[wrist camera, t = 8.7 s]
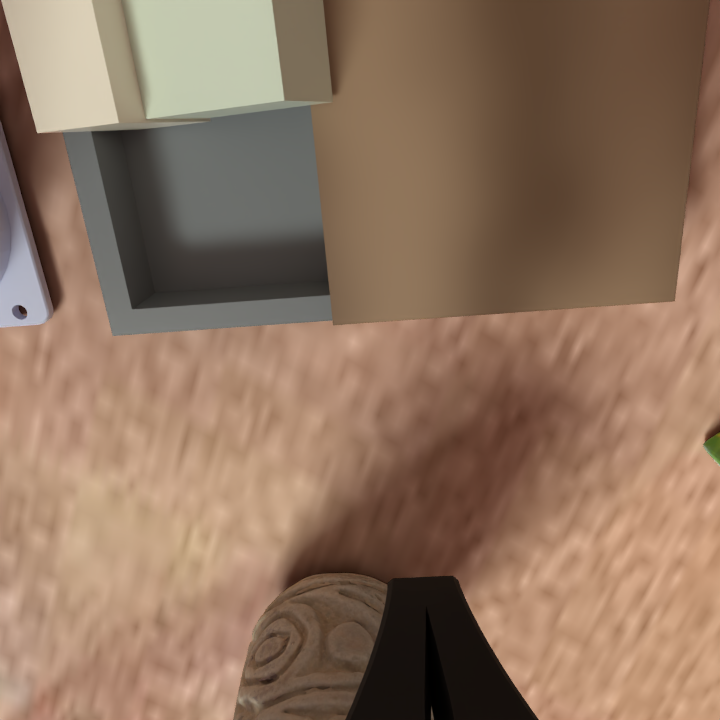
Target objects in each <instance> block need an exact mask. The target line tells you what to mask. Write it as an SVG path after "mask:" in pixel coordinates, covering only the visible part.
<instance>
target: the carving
mask: <svg viewBox="0 0 720 720" xmlns="http://www.w3.org/2000/svg"><path fill="white" fill-rule="evenodd" d="M386 596H387V584H385V583H383V582H381V581H379V580H377V579H374V578H372V577H369V576H365V575H360V574H354V573H325V574H317V575H312V576H309V577H306V578H304V579H302V580H301V581H299V582H297V583H296V584H294V585H292V586H290V587H289V588H288V589H286V590H285V591H284V592H283V593H281V594H280V595H279V596H278V597H277V598H276V599H275V600H274V601H273V602H272V603H271V604H270V605H269V606H268V607H267V609H266V610H265V612H264V614H263V615H262V616H261V617H260V619H259V620H258V622H257V624H256V626H255V628H254V631H253V634H252V640H253V641H252V642H251V643H250V645H249V648H248V653H247V658H246V661H245V665H244V669H243V673H242V677H241V682H240V687H239V692H238V697H237V702H236V707H235V713H234V719H233V720H345V719H346V717H347V715H348V712H349V710H350V708H351V705H352V703H353V700H354V698H355V696H356V693H357V691H358V688H359V686H360V683H361V681H362V678H363V676H364V673H365V670H366V668H367V665H368V662H369V659H370V656H371V653H372V650H373V647H374V644H375V641H376V638H377V635H378V631H379V627H380V624H381V620H382V616H383V612H384V607H385V602H386ZM431 720H434V718H433V712H432V707H431Z"/></svg>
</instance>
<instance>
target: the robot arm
mask: <svg viewBox="0 0 720 720" xmlns="http://www.w3.org/2000/svg"><path fill="white" fill-rule="evenodd" d="M19 305H21V306H23V307H24V308H25V309H26V310H27V316H24V315H23V314H21V312H20V311H19ZM52 315H53V305H52V302H51V298H50V295H49V291H48V288H47V284H46V281H45V277H44V273H43V270H42V266H41V263H40V259H39V256H38V252H37V249H36V245H35V241H34V238H33V234H32V231H31V227H30V224H29V220H28V216H27V213H26V209H25V206H24V202H23V199H22V195H21V192H20V188H19V184H18V181H17V177H16V174H15V170H14V167H13V163H12V160H11V156H10V152H9V149H8V145H7V142H6V138H5V135H4V131H3V127H2V124H1V120H0V327H13V326H27V325H39V324H43V323H45V322H47V321H48V320H49V319H51V318H52ZM431 707H432V712H433V718H434V720H539V719H538V718H537V717H536V715H535V714H534V713H533V711H532V710H531V708H530V707H529V706H528V704H527V703H526V701H525V700H524V698H523V697H522V695H521V694H520V692H519V691H518V690H517V688H516V687H515V685H514V684H513V682H512V681H511V679H510V678H509V676H508V674H507V673H506V671H505V670H504V668H503V667H502V665H501V663H500V662H499V660H498V658H497V657H496V655H495V653H494V652H493V650H492V648H491V647H490V645H489V643H488V642H487V640H486V638H485V636H484V635H483V633H482V631H481V629H480V627H479V625H478V623H477V621H476V620H475V618H474V616H473V614H472V612H471V610H470V608H469V606H468V603H467V601H466V599H465V597H464V594H463V592H462V589H461V587H460V584H459V581H458V580H457V579H456V578H455V577H454V576H438V577H416V578H395V579H392V580H391V581H390V582H389V583H388V585H387V596H386V602H385V607H384V612H383V616H382V620H381V624H380V627H379V631H378V635H377V638H376V641H375V644H374V647H373V650H372V653H371V656H370V659H369V662H368V665H367V668H366V670H365V673H364V676H363V678H362V681H361V683H360V686H359V688H358V691H357V693H356V696H355V698H354V700H353V703H352V705H351V708H350V710H349V712H348V715H347V717H346V719H345V720H431Z"/></svg>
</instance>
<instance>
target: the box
mask: <svg viewBox="0 0 720 720" xmlns="http://www.w3.org/2000/svg"><path fill="white" fill-rule="evenodd" d="M210 120H211V121H210V122H202V123H193V124H185V125H176V126H168V127H159V128H151V129H142V130H116V131H86V132H63V136H64V140H65V144H66V148H67V153H68V157H69V161H70V165H71V169H72V173H73V177H74V181H75V185H76V189H77V193H78V197H79V201H80V205H81V209H82V213H83V217H84V221H85V225H86V229H87V233H88V238H89V242H90V246H91V250H92V254H93V258H94V262H95V266H96V270H97V274H98V278H99V282H100V286H101V290H102V294H103V298H104V302H105V306H106V310H107V314H108V318H109V323H110V327H111V331H112V335H113V336H118V335H132V334H146V333H160V332H174V331H188V330H203V329H217V328H231V327H245V326H259V325H274V324H288V323H302V322H316V321H330V320H332V310H331V301H330V291H329V281H328V271H327V262H326V252H325V242H324V232H323V223H322V213H321V203H320V193H319V184H318V174H317V164H316V154H315V145H314V135H313V125H312V115H311V106H310V105H307V106H299V107H291V108H283V109H276V110H268V111H260V112H252V113H244V114H236V115H229V116H221V117H213V118H210Z"/></svg>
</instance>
